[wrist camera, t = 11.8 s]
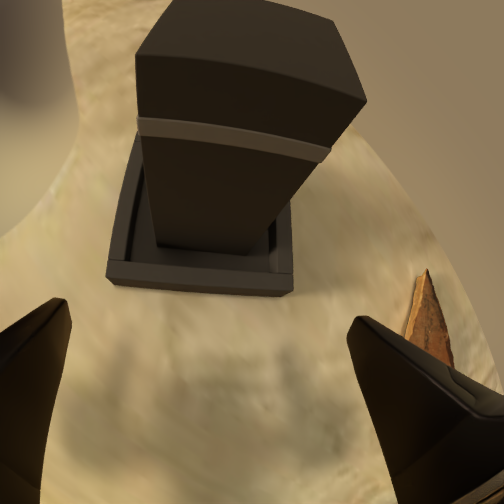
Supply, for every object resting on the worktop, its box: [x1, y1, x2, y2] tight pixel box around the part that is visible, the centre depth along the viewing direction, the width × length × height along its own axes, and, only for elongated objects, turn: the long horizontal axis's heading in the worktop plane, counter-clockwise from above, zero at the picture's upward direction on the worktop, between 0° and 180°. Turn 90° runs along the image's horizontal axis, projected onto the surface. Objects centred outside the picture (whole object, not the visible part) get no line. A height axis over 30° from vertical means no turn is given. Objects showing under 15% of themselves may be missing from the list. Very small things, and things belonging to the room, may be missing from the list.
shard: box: [405, 269, 455, 369], centre depth 19 cm, size 11×8×2 cm
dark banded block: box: [135, 0, 367, 256], centre depth 12 cm, size 5×6×13 cm
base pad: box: [106, 131, 293, 297], centre depth 18 cm, size 10×10×2 cm
